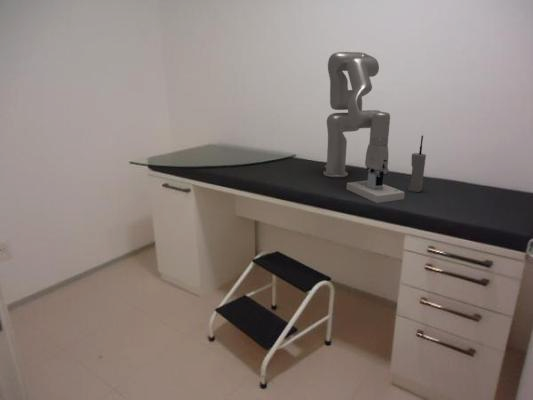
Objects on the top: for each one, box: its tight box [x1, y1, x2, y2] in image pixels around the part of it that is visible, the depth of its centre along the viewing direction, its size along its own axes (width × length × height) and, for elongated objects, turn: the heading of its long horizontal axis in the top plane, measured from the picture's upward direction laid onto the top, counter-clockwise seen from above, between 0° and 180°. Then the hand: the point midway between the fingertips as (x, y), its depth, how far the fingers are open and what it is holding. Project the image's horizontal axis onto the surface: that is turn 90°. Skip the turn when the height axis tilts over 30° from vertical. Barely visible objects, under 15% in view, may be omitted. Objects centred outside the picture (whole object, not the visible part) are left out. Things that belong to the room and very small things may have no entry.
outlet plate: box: [346, 179, 406, 204], centre depth 175 cm, size 22×14×3 cm, turn 23°
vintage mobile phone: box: [407, 135, 427, 193], centre depth 177 cm, size 4×5×25 cm
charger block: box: [367, 171, 385, 190], centre depth 174 cm, size 5×5×7 cm
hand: (375, 183), depth 174 cm, fingers closed on charger block, 4 cm apart
